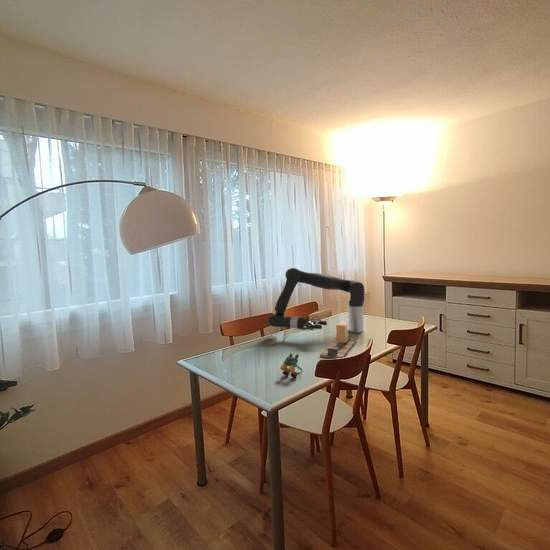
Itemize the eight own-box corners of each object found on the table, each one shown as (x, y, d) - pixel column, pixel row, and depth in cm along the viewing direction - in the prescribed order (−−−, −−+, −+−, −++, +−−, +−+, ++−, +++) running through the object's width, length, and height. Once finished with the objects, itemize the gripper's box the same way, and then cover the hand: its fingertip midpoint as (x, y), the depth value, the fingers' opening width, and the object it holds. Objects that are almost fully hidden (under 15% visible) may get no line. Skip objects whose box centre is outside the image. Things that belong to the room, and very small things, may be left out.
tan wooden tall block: (339, 339, 190) (338, 322, 189) (347, 340, 188) (347, 323, 187) (336, 342, 186) (336, 324, 185) (345, 343, 184) (345, 325, 182)
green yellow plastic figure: (283, 378, 153) (276, 365, 147) (291, 362, 159) (284, 349, 153) (300, 382, 148) (293, 369, 142) (308, 366, 153) (302, 352, 148)
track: (336, 340, 198) (336, 333, 197) (356, 342, 192) (356, 335, 192) (319, 357, 172) (319, 348, 171) (342, 360, 166) (341, 351, 166)
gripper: (293, 320, 192) (319, 322, 185) (303, 314, 205) (327, 316, 197) (294, 332, 193) (320, 334, 186) (303, 325, 206) (328, 328, 198)
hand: (324, 325), depth 192 cm, fingers open, 8 cm apart
